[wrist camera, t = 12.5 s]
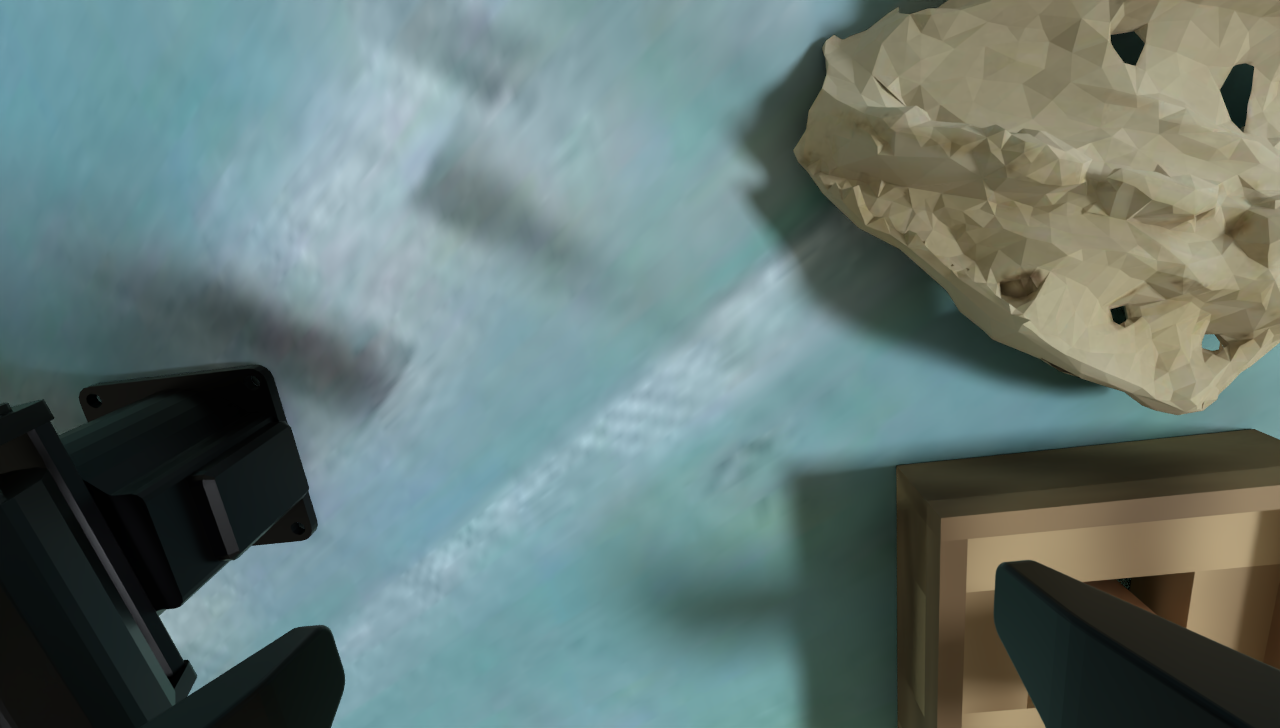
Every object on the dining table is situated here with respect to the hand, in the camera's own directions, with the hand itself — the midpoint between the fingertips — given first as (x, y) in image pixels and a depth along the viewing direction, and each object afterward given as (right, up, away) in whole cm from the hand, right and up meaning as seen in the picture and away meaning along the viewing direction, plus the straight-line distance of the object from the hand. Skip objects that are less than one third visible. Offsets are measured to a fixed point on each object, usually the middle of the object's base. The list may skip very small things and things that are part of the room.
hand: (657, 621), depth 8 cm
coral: (+13, +10, +11) cm, 20 cm away
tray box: (+15, -5, +15) cm, 22 cm away
